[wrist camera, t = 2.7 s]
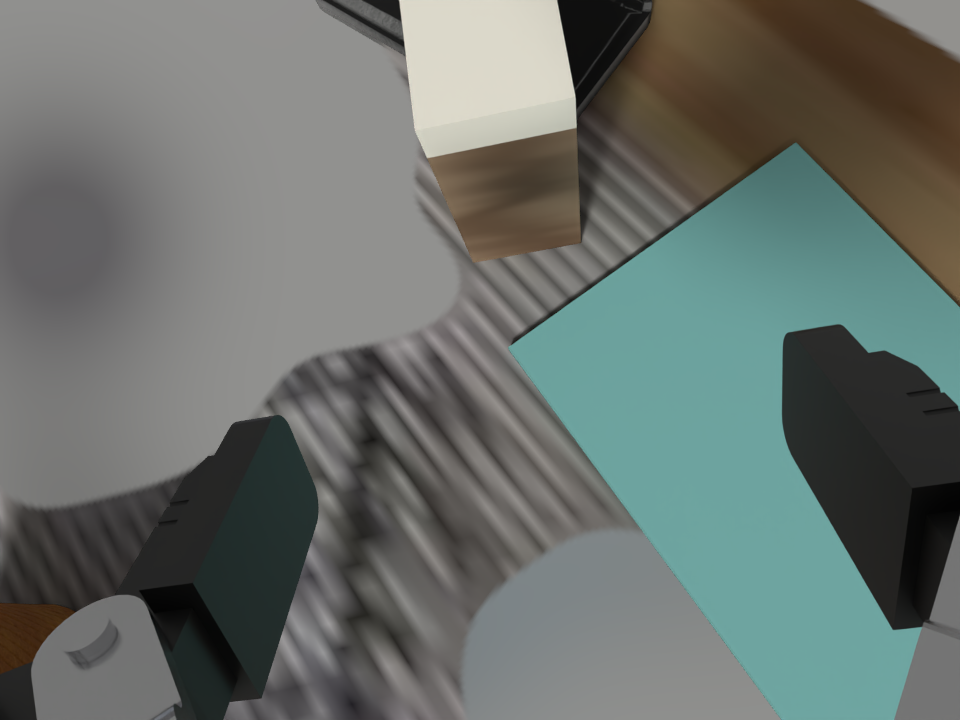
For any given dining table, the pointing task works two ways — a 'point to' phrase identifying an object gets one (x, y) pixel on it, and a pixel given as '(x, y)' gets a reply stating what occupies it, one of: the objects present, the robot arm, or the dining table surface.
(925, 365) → the teal mat
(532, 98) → the walnut block
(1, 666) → the disposable coffee cup
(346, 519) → the dining table surface
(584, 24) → the phone
